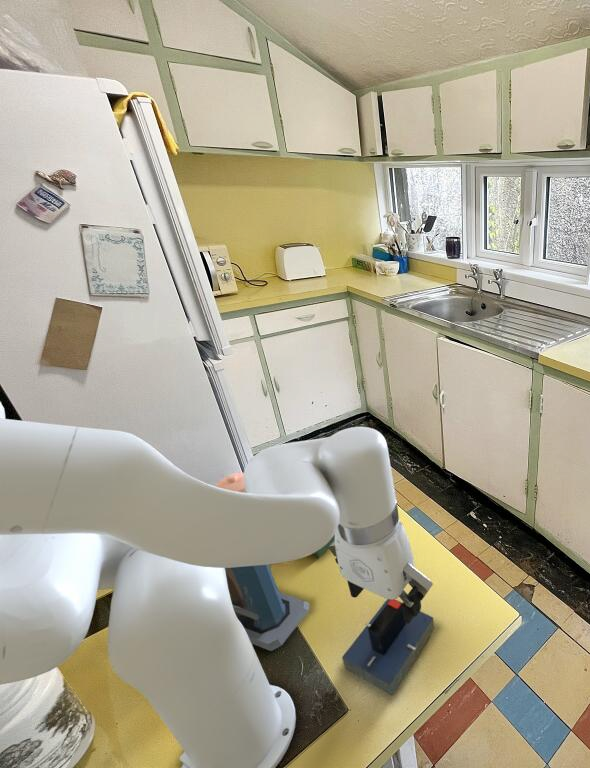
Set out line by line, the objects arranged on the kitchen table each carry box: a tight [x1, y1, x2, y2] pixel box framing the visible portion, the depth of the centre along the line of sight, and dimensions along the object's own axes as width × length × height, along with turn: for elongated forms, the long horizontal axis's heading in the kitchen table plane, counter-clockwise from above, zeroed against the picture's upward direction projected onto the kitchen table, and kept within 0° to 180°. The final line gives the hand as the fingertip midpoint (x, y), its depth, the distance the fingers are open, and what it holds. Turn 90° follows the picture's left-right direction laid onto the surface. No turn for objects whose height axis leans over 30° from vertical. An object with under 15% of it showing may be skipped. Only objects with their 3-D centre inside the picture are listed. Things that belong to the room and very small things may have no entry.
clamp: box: [225, 564, 311, 652], centre depth 68 cm, size 35×9×21 cm, turn 73°
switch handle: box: [368, 599, 406, 655], centre depth 63 cm, size 6×2×5 cm, turn 156°
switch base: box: [341, 599, 435, 696], centre depth 65 cm, size 11×10×3 cm
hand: (386, 601), depth 61 cm, fingers open, 9 cm apart
